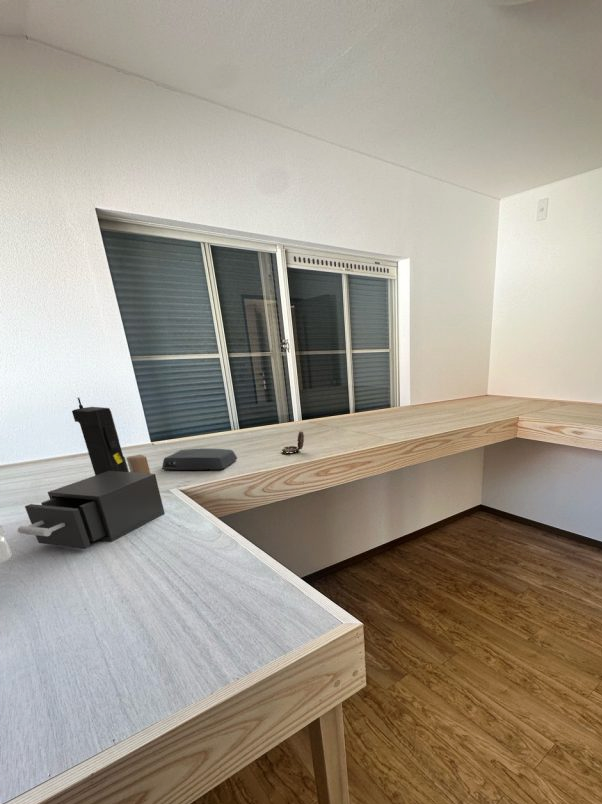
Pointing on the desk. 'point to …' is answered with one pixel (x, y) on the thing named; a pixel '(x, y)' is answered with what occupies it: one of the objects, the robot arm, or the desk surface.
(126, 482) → the air fryer
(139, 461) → the wooden block
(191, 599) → the desk surface
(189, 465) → the hard drive
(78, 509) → the fryer drawer
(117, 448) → the portable radio
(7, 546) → the robot arm
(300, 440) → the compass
